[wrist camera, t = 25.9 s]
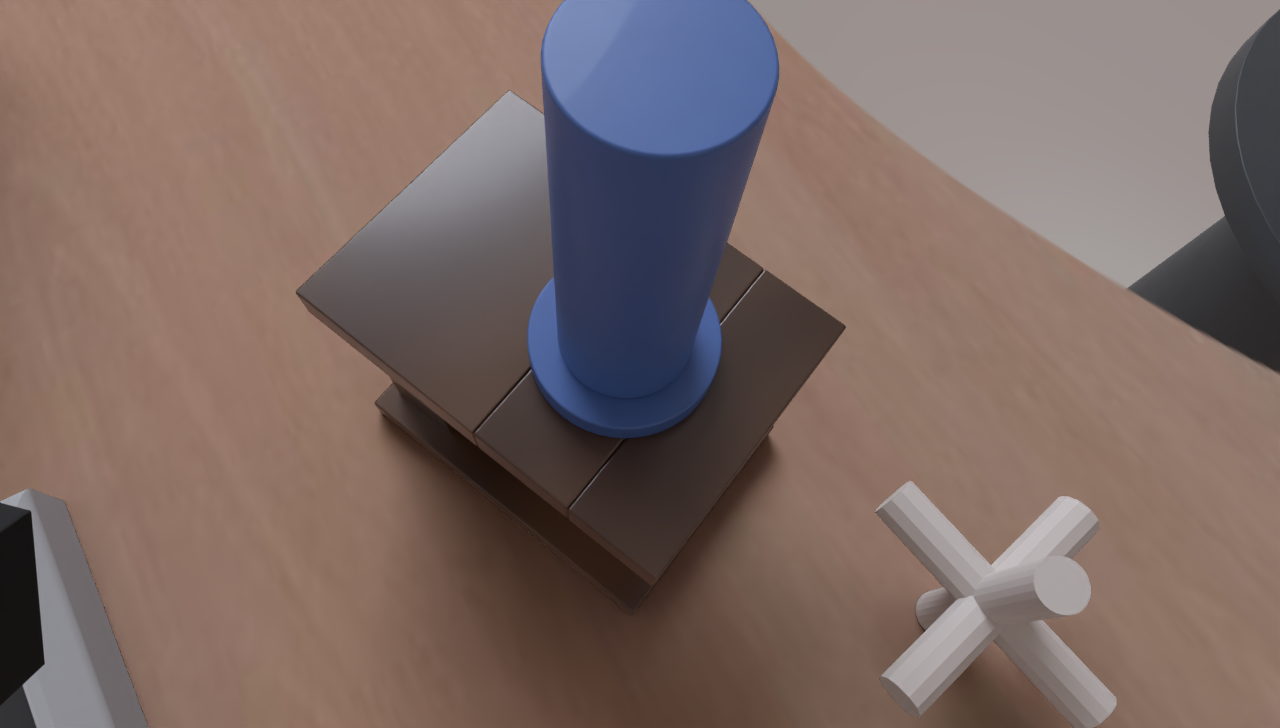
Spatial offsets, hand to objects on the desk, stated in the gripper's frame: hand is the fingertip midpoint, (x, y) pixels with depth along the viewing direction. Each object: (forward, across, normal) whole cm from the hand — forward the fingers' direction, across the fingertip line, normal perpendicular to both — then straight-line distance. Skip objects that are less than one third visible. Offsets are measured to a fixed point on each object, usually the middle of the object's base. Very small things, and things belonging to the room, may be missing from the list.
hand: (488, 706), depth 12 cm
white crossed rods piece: (+22, +15, -12) cm, 29 cm away
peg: (+20, 0, -5) cm, 20 cm away
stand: (+25, -2, -9) cm, 26 cm away
